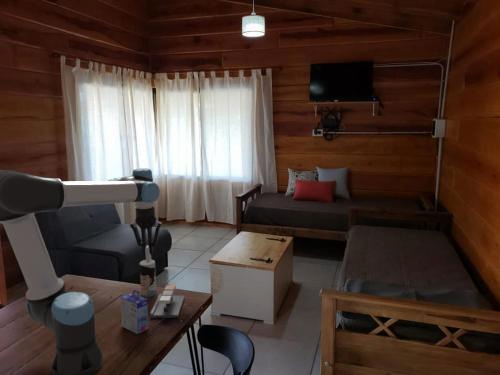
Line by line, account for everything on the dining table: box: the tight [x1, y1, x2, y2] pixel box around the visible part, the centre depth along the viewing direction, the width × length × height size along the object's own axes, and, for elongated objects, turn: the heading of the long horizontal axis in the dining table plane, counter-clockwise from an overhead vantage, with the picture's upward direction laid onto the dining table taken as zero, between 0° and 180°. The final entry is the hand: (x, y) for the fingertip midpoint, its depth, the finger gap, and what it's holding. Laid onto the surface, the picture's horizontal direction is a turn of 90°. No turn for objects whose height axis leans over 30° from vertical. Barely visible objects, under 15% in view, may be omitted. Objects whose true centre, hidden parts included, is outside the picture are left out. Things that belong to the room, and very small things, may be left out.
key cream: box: [159, 296, 171, 304], centre depth 155 cm, size 4×4×1 cm
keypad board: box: [149, 293, 185, 319], centre depth 161 cm, size 17×11×2 cm, turn 1°
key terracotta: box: [163, 284, 176, 293], centre depth 165 cm, size 4×4×1 cm
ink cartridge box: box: [120, 289, 149, 335], centre depth 145 cm, size 10×6×14 cm, turn 54°
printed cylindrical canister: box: [139, 259, 157, 298], centre depth 173 cm, size 7×7×15 cm
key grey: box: [161, 290, 174, 298], centre depth 160 cm, size 4×4×1 cm
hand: (148, 261), depth 159 cm, fingers closed
